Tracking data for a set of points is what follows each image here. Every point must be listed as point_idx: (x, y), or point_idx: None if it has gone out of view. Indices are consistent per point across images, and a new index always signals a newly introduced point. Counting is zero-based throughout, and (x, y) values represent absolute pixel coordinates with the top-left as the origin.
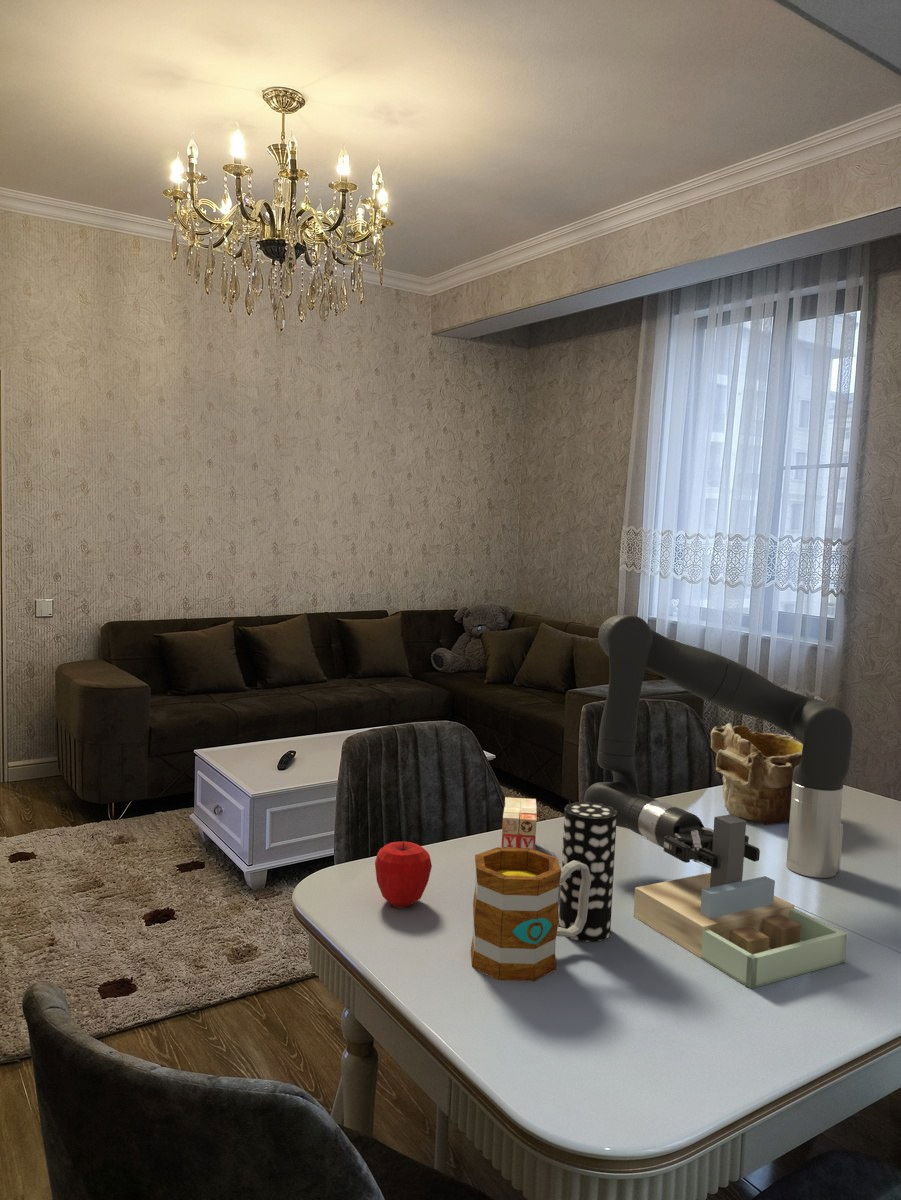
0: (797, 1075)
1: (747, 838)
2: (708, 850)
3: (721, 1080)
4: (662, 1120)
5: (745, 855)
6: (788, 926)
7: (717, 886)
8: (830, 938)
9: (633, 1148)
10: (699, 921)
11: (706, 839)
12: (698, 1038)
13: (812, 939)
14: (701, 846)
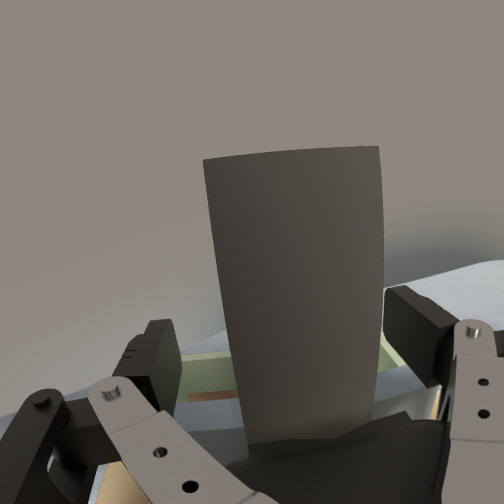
0: (391, 287)
1: (53, 393)
2: (426, 311)
3: (450, 284)
4: (487, 268)
5: (173, 395)
6: (220, 394)
7: (378, 399)
8: (190, 354)
9: (499, 260)
10: (437, 403)
11: (375, 437)
12: (461, 309)
13: (225, 355)
14: (454, 333)
